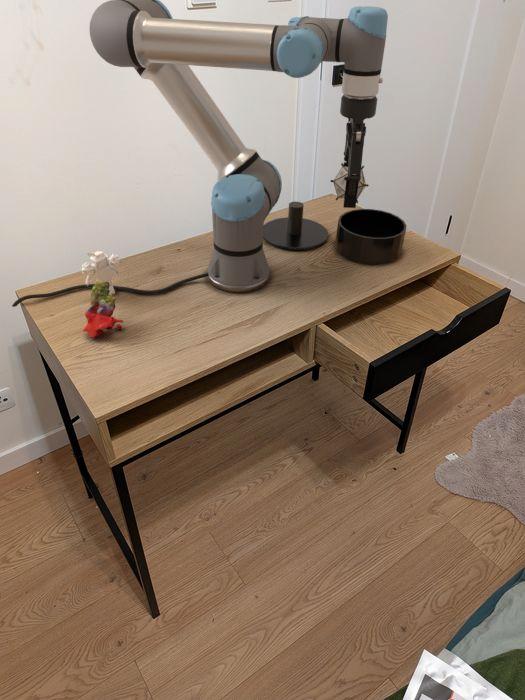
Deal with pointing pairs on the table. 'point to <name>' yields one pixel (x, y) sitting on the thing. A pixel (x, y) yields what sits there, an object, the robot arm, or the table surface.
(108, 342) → the table surface
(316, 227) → the pan lid
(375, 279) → the table surface
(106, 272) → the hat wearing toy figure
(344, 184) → the game die
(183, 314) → the table surface
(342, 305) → the table surface
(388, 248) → the pan
